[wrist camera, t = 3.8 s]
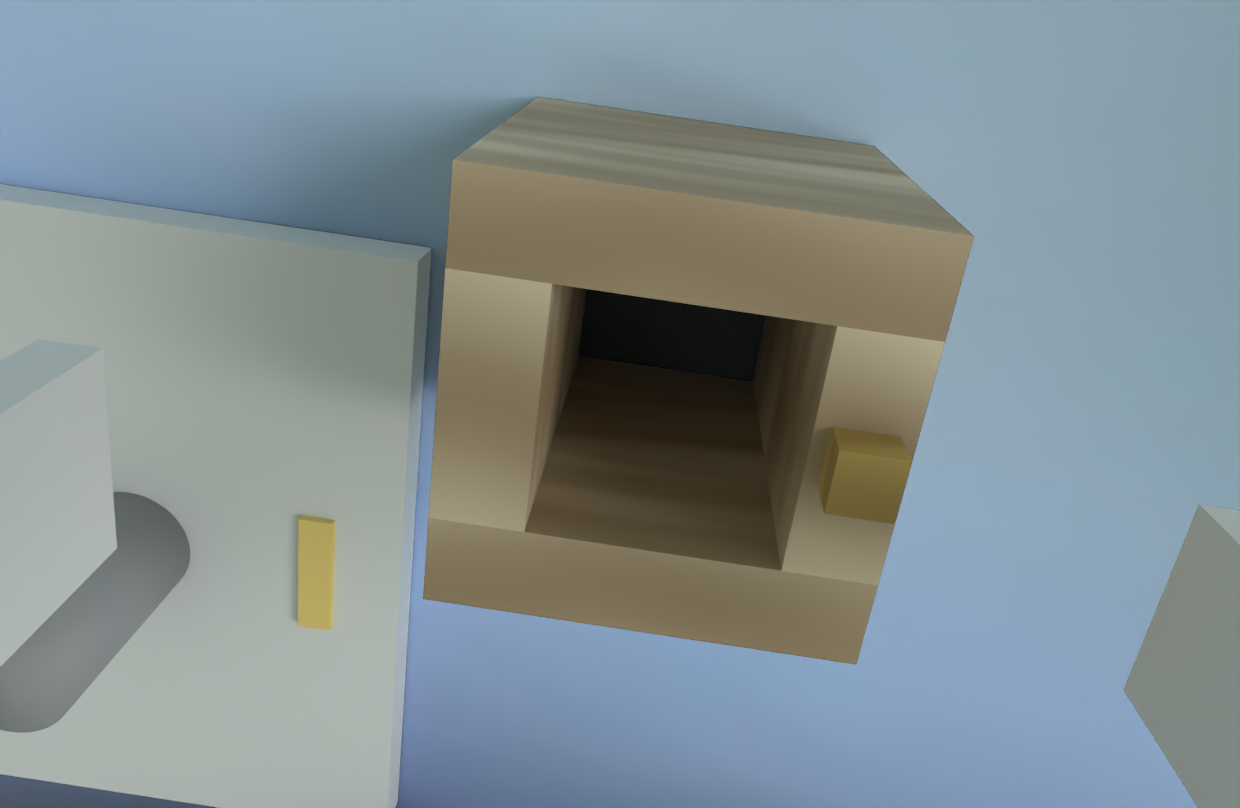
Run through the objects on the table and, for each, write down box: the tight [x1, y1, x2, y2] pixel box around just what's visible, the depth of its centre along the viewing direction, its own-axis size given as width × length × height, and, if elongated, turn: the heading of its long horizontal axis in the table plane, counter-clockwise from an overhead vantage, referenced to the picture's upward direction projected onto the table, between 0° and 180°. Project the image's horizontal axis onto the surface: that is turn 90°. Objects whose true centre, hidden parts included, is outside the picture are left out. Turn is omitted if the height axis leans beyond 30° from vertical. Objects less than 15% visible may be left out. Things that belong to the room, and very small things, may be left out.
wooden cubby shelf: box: [423, 97, 974, 664], centre depth 18 cm, size 7×7×9 cm
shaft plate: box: [0, 184, 432, 808], centre depth 23 cm, size 16×13×6 cm
